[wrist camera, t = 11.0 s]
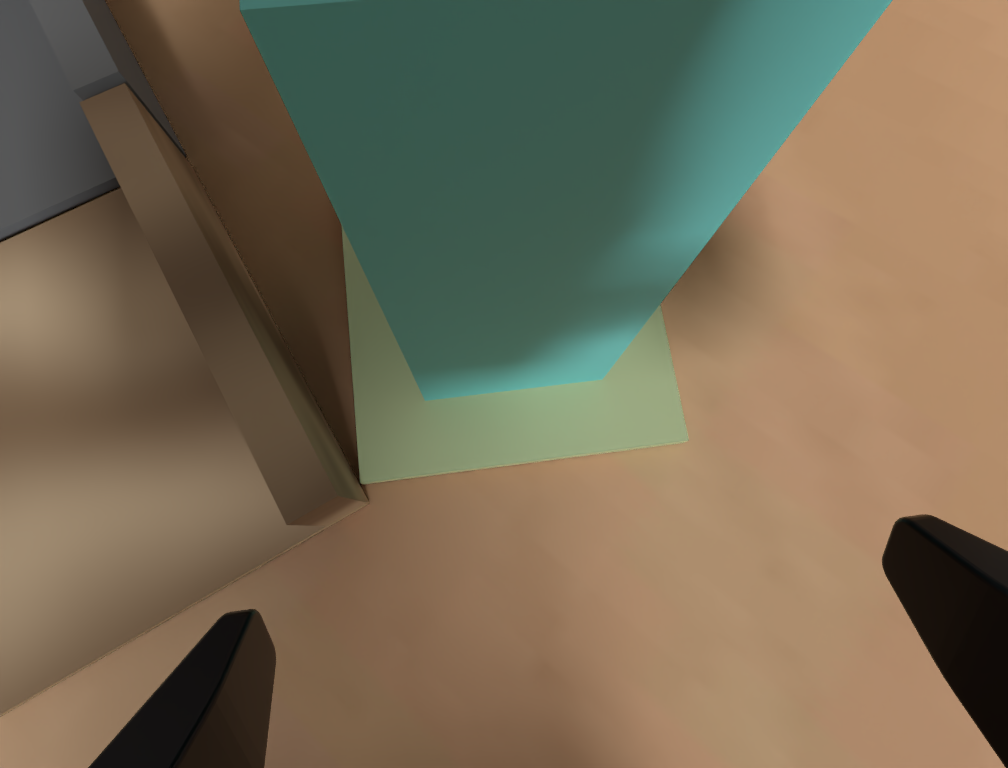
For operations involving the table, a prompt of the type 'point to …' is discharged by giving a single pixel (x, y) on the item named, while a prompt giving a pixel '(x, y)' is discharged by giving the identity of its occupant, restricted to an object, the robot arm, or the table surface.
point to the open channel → (142, 416)
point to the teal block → (540, 157)
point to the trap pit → (58, 105)
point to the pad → (499, 405)
